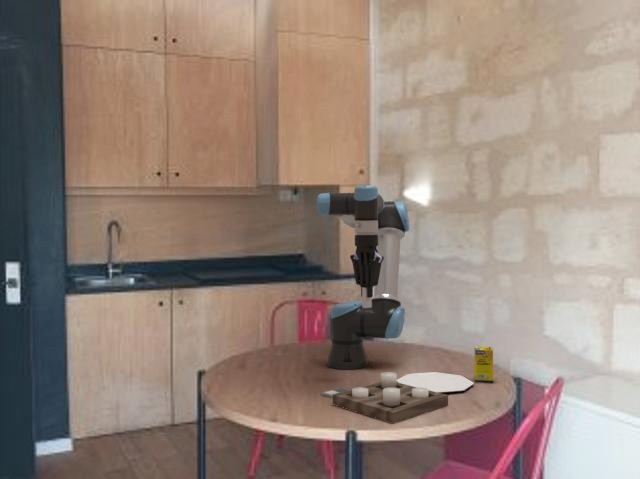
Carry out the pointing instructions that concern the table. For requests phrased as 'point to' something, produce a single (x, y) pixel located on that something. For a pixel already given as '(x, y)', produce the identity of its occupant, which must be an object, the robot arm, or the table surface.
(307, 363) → the table surface
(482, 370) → the supplement box
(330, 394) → the card
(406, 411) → the board
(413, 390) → the button
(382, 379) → the button
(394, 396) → the button
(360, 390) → the button
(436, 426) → the table surface
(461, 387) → the plate
